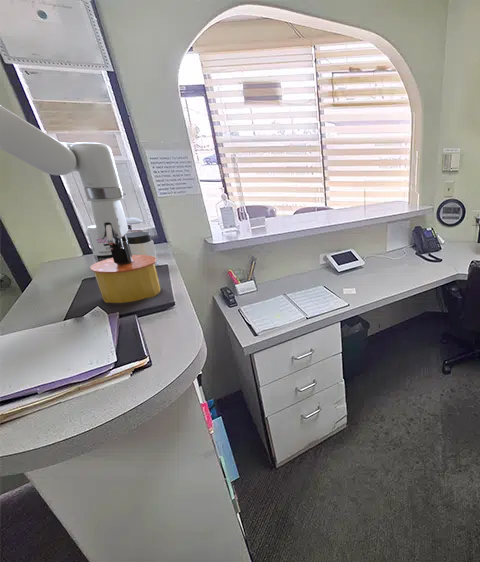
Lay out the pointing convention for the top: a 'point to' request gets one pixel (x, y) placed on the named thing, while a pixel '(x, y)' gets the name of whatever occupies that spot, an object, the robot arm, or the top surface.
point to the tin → (128, 285)
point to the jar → (141, 244)
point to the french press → (132, 221)
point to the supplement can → (98, 245)
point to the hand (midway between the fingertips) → (123, 259)
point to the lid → (133, 264)
